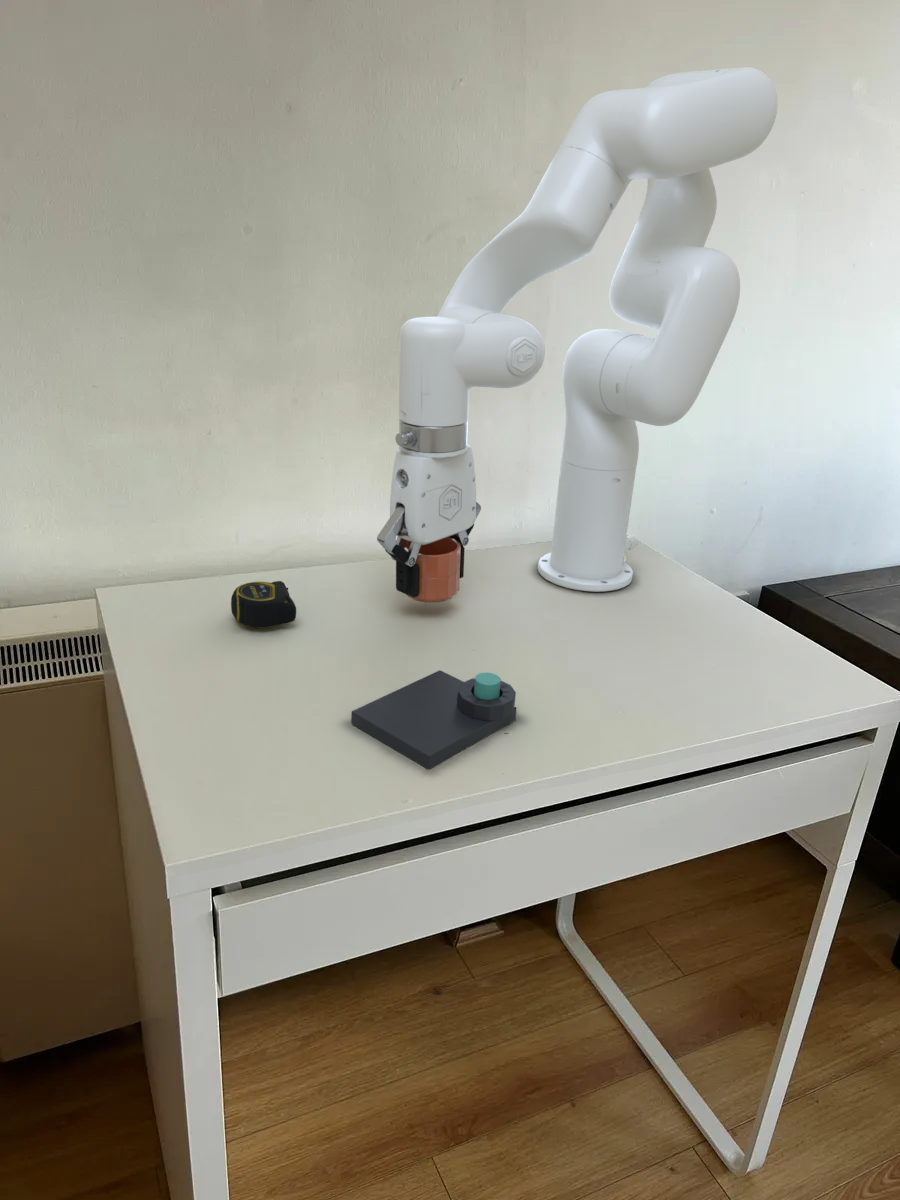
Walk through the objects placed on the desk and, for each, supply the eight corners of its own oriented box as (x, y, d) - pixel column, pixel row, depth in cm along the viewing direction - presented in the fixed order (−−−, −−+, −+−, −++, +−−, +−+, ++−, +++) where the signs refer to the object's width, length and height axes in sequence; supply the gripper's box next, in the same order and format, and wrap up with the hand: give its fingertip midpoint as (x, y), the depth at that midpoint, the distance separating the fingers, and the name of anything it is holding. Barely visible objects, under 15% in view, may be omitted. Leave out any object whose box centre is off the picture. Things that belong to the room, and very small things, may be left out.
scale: (443, 679, 92) (445, 653, 91) (523, 719, 86) (526, 692, 85) (350, 724, 83) (351, 696, 82) (432, 772, 77) (434, 742, 76)
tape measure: (297, 631, 100) (297, 600, 99) (235, 636, 98) (233, 605, 97) (288, 606, 106) (288, 576, 105) (229, 610, 104) (227, 580, 103)
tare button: (485, 685, 86) (486, 669, 85) (504, 695, 85) (506, 679, 84) (468, 694, 84) (469, 677, 84) (488, 704, 83) (489, 687, 82)
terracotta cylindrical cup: (429, 575, 111) (430, 530, 108) (470, 592, 107) (472, 545, 104) (389, 591, 106) (389, 544, 104) (431, 609, 102) (432, 561, 100)
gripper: (401, 457, 91) (400, 616, 98) (509, 429, 102) (501, 573, 110) (351, 442, 95) (353, 596, 103) (460, 417, 107) (456, 556, 114)
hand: (430, 582), depth 106 cm, fingers closed on terracotta cylindrical cup, 6 cm apart
